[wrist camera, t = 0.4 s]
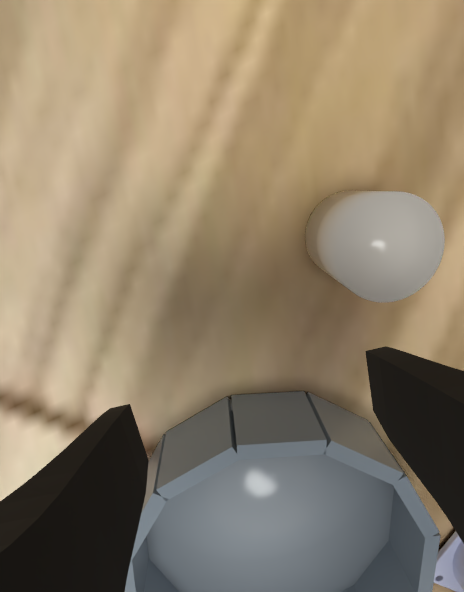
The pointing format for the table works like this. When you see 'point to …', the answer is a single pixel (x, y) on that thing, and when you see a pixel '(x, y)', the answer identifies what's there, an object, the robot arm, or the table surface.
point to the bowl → (280, 504)
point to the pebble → (376, 242)
